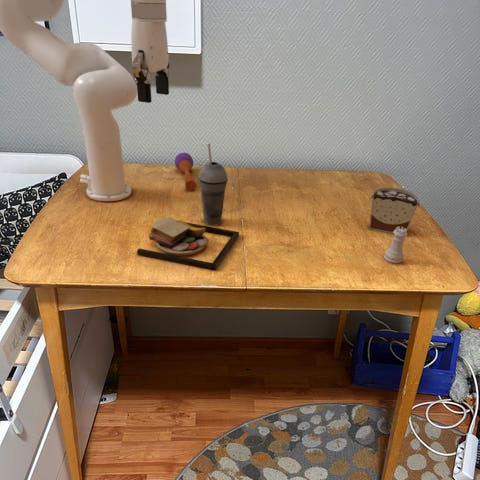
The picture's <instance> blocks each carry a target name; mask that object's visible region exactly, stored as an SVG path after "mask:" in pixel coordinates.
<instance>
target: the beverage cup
mask: <svg viewBox="0 0 480 480" xmlns="http://www.w3.org/2000/svg"><path fill="white" fill-rule="evenodd" d="M207 149H208V159H209V162H207V163H206V164H204V165H203V166H202V168H201V169H200V172H199V175H198V182H199V183H198V184H199V187H200V193H201V206H202V214H203V216H202V217H203V222H204V224H206V225H207V226H217V225H218V226H219V225H220V224H222V218H223V211H224V201H225V193H226V188H227V184H228V174H227V171H226V169H225V168H224V166H223V165H222V164H221V163H219V162H216V161H212V160H213V159H212V152H211V144H210V143H207Z"/></svg>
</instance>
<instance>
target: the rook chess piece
mask: <svg viewBox="0 0 480 480" xmlns="http://www.w3.org/2000/svg"><path fill="white" fill-rule="evenodd" d="M403 228H404V227H401V229H400V227H396V229H395V230H394V231H393V233H392V234H393V236H392V242H391V244H390V246H389V247H388V248H387V250H386V251H384V255H383V258H384V260H385V262H388V263H390V264H400V263H401V262H403V261H404V251H403V246H404V242H405V241H406V239H405V237H407V236H408V229H406V228H405V229H403Z"/></svg>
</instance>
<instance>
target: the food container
mask: <svg viewBox="0 0 480 480" xmlns="http://www.w3.org/2000/svg"><path fill="white" fill-rule="evenodd" d="M369 200H372V202H371V210H370V220H369V227H368V228H369V230H372V231H373V230H375V231H379V232H384V233H390V234H394V233H393V231H394V230H395V229H396V227H400V229H401V227H404V228H403V229H405V228H406V229H407V230H408V229H409V227H410V225H411V222H412V220H413V217H414V215H415V212H416V210H417V207H418V208H420V204H421V202H420V197H419V196H418V195H417V194H415V193H413V192H412V191H409V190H406V189H403V188H397V187H381V188H377V189H375V190H374V191H373V193H372V194H371V197H370V199H369Z"/></svg>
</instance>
